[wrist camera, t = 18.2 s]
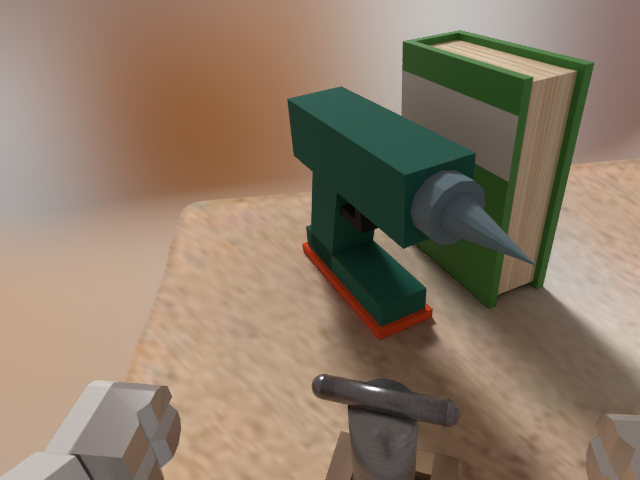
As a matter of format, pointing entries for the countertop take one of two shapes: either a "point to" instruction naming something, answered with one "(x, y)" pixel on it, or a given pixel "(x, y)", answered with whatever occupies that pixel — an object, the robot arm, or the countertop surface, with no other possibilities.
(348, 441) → the brown square frame
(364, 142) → the power tool
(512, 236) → the hardback book
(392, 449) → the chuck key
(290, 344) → the countertop surface
